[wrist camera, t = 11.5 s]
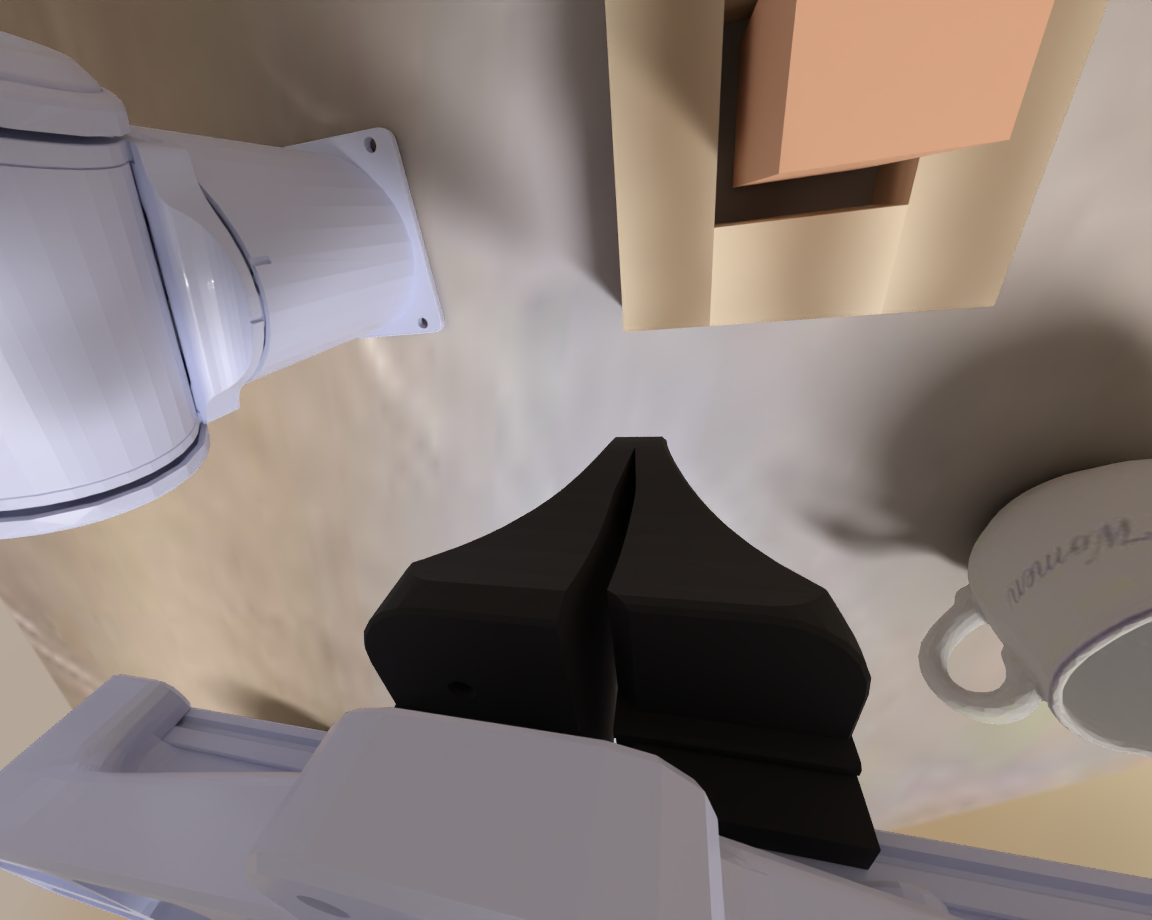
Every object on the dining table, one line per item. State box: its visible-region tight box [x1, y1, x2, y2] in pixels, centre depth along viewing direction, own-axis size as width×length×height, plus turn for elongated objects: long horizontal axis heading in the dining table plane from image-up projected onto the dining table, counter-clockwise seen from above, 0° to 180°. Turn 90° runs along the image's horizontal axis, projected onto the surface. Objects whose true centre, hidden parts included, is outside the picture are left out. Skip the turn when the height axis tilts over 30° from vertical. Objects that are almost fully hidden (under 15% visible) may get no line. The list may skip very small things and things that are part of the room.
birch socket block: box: [605, 0, 1109, 332], centre depth 13 cm, size 12×12×3 cm
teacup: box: [918, 459, 1152, 757], centre depth 17 cm, size 14×11×8 cm
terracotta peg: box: [732, 0, 1055, 188], centre depth 11 cm, size 4×4×8 cm
